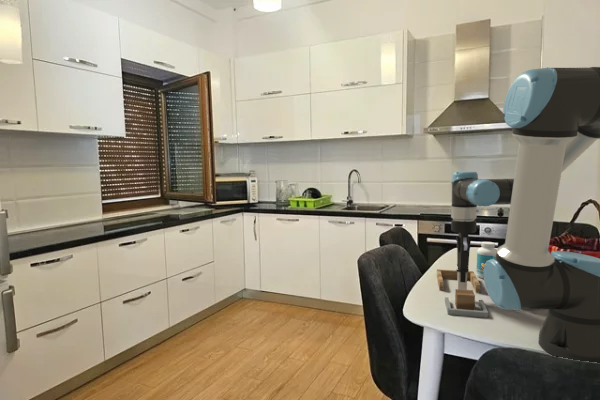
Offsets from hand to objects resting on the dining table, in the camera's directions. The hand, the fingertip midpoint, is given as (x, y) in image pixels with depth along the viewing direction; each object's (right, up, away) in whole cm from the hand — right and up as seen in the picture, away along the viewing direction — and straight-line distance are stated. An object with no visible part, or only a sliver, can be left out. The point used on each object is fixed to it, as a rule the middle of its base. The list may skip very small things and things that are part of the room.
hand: (461, 290), depth 128 cm
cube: (-2, -4, -7) cm, 8 cm away
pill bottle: (+19, 0, +23) cm, 30 cm away
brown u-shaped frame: (+4, -1, +15) cm, 15 cm away
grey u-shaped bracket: (-2, -4, -8) cm, 9 cm away
